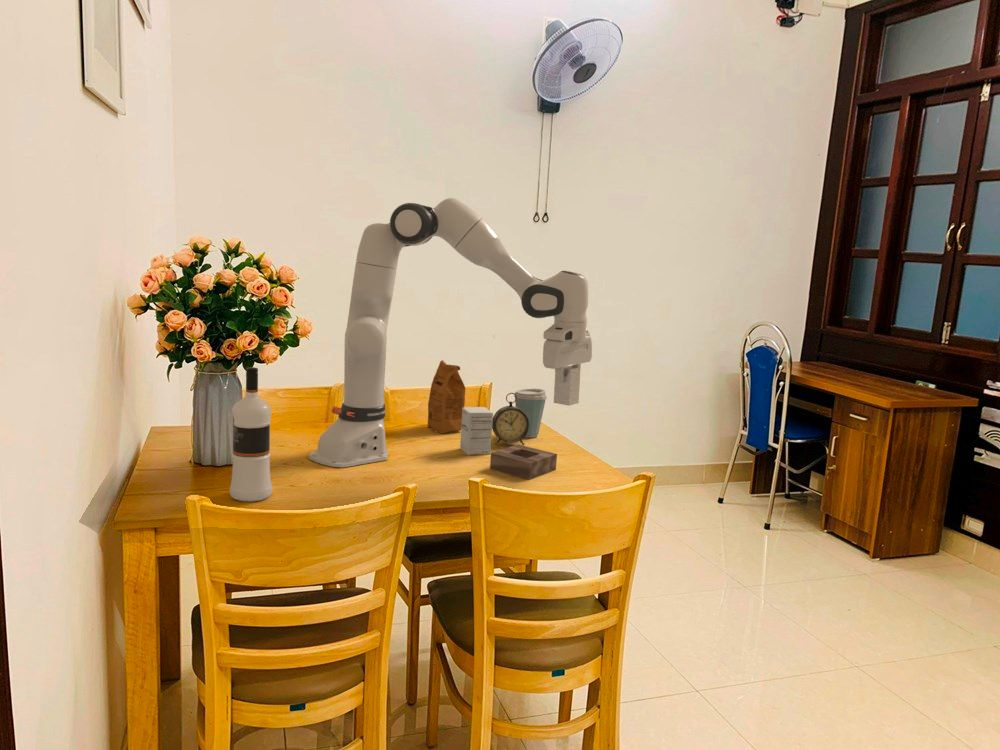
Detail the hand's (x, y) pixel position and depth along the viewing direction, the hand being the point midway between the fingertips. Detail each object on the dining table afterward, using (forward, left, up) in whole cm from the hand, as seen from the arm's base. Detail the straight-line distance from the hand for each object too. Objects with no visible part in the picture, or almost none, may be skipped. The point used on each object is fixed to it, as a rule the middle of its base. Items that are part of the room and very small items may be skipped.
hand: (567, 381), depth 209 cm
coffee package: (+6, +49, -25) cm, 55 cm away
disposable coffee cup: (+21, +26, -25) cm, 42 cm away
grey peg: (0, 0, -6) cm, 6 cm away
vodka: (-76, +37, -25) cm, 87 cm away
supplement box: (-7, +26, -25) cm, 36 cm away
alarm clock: (+7, +24, -25) cm, 35 cm away
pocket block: (-11, +6, -24) cm, 27 cm away
